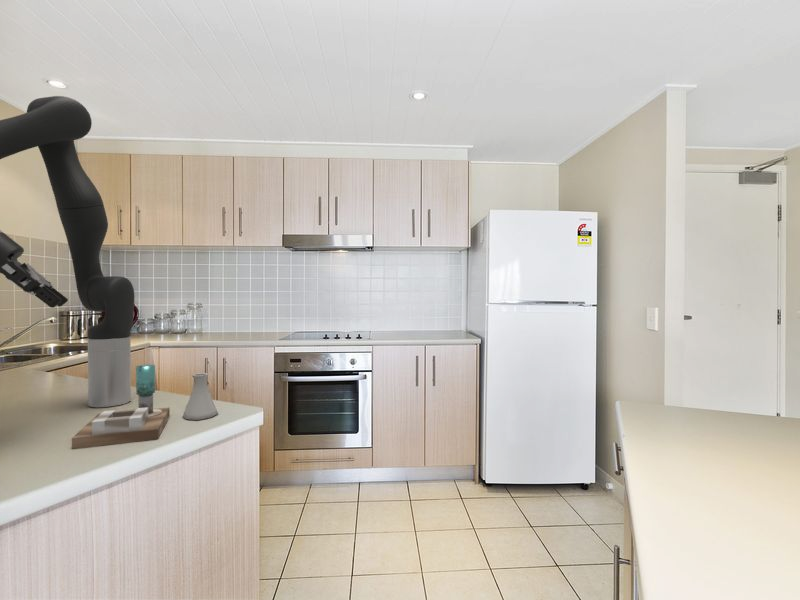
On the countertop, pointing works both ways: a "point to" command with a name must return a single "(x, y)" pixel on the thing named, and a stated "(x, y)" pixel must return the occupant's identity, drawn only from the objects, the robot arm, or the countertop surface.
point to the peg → (145, 386)
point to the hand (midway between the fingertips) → (61, 304)
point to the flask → (200, 400)
